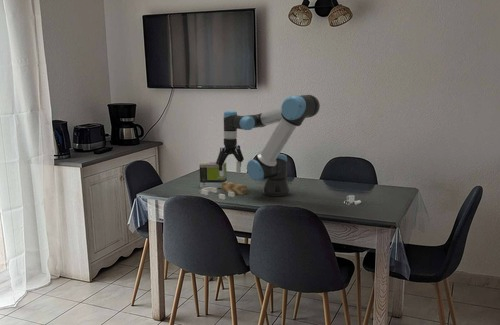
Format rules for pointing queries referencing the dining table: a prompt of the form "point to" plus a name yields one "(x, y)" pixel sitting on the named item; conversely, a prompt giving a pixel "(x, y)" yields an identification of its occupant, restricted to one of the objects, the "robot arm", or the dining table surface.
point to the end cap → (208, 190)
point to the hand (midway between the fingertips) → (230, 174)
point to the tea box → (211, 175)
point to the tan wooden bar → (234, 188)
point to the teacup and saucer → (352, 200)
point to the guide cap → (231, 194)
